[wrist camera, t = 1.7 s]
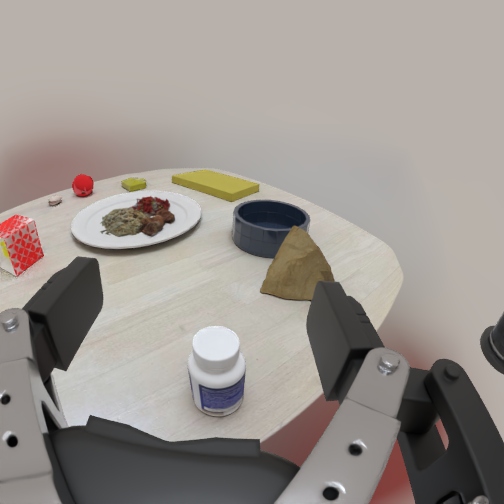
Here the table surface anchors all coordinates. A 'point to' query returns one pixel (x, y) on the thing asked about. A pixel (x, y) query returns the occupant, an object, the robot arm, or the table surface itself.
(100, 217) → the plated food
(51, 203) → the macaroon
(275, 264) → the rock
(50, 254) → the table surface
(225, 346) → the pill bottle
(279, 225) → the pot
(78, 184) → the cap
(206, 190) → the flat olive board
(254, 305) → the table surface
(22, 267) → the red patterned cube
